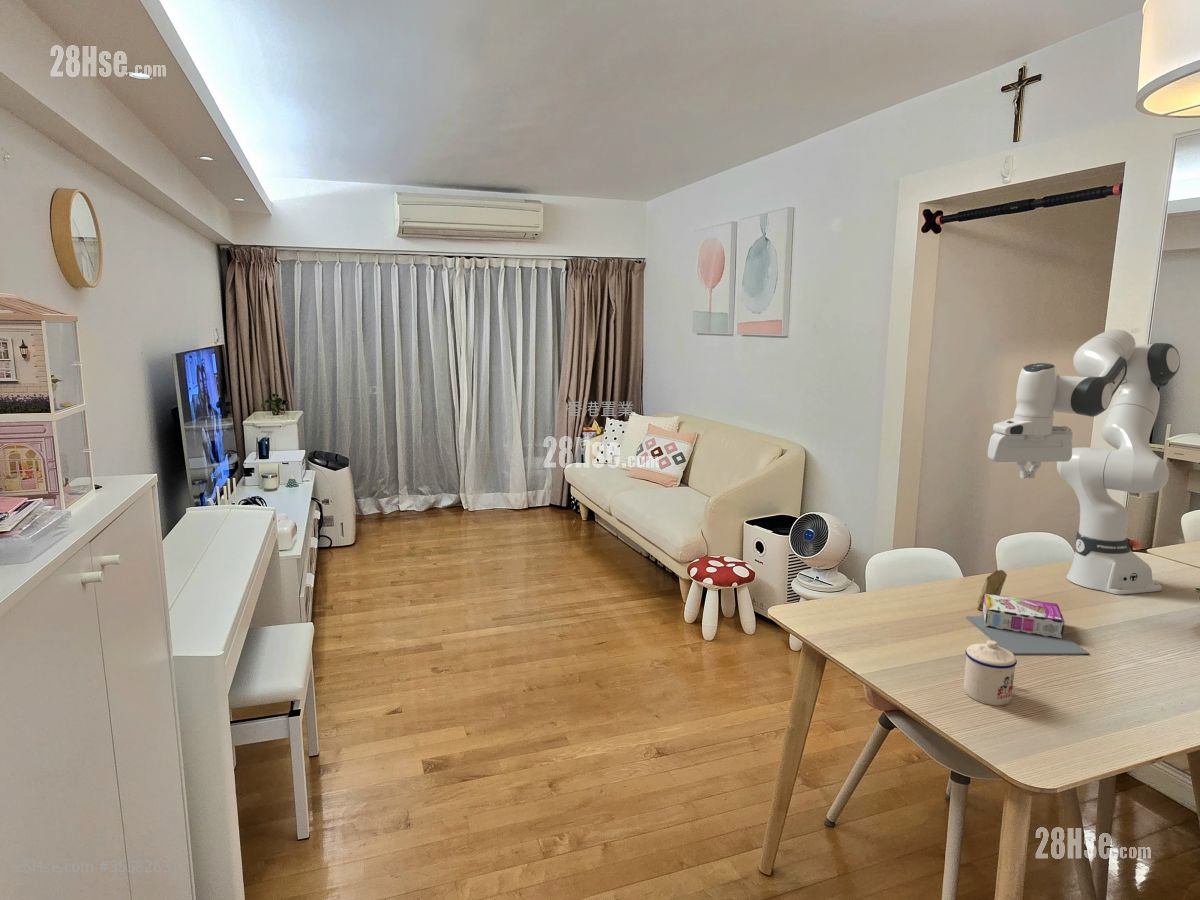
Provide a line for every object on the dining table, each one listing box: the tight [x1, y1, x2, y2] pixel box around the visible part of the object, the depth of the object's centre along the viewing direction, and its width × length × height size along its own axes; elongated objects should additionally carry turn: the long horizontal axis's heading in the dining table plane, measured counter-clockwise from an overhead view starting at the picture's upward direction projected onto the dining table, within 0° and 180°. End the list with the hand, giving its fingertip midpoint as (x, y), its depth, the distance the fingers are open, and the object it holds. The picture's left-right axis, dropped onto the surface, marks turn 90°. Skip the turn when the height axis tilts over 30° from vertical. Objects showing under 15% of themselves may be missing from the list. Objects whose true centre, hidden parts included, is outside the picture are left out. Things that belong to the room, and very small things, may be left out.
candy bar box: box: [982, 594, 1066, 639], centre depth 172 cm, size 11×5×16 cm
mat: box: [965, 615, 1090, 656], centre depth 167 cm, size 18×20×1 cm
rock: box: [977, 569, 1008, 612], centre depth 185 cm, size 11×9×10 cm
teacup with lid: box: [963, 639, 1018, 706], centre depth 141 cm, size 12×9×12 cm
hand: (1027, 477), depth 182 cm, fingers closed
